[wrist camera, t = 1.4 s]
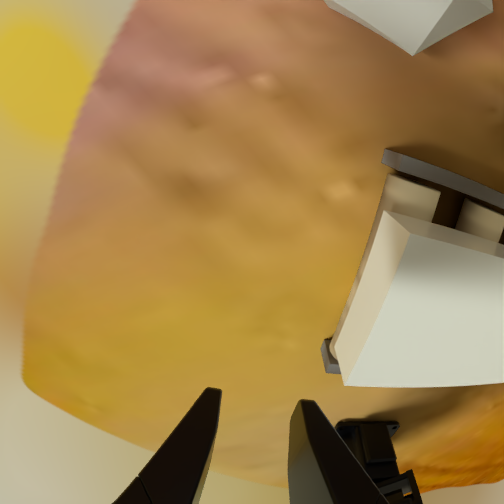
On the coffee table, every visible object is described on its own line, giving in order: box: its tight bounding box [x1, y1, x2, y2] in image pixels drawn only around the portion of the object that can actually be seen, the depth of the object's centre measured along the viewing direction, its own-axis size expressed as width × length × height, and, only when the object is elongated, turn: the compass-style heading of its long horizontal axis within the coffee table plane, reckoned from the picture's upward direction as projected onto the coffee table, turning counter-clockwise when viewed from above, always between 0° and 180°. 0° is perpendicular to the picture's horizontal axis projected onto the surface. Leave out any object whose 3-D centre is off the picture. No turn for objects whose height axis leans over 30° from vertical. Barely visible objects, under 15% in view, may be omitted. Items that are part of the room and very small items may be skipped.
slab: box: [334, 210, 504, 387], centre depth 14 cm, size 8×16×3 cm, turn 80°
